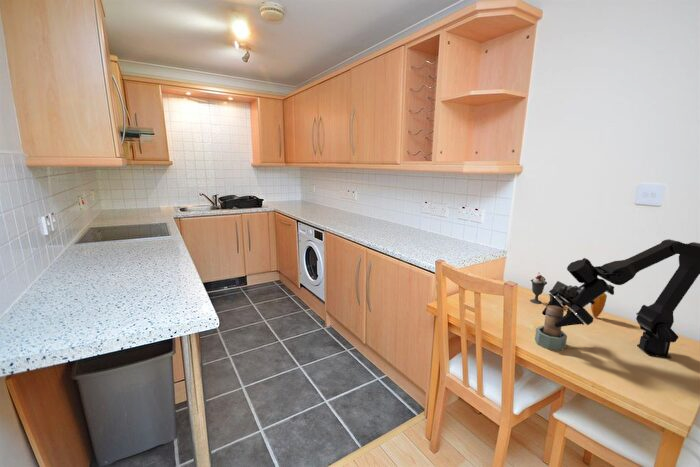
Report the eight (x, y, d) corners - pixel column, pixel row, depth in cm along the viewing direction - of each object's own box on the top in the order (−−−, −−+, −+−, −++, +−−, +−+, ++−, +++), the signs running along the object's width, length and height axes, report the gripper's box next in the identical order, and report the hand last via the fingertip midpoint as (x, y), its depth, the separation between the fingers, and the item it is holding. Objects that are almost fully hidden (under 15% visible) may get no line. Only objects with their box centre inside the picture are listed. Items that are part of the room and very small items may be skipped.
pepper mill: (549, 337, 115) (554, 304, 112) (562, 345, 110) (568, 310, 108) (538, 339, 114) (543, 306, 111) (550, 347, 109) (556, 312, 106)
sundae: (531, 304, 146) (535, 273, 143) (525, 298, 152) (529, 268, 149) (546, 305, 145) (551, 274, 142) (540, 299, 151) (544, 269, 148)
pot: (558, 339, 115) (560, 327, 114) (568, 352, 107) (570, 340, 106) (532, 336, 117) (533, 324, 116) (540, 348, 109) (542, 336, 108)
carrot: (602, 316, 134) (607, 283, 131) (603, 321, 129) (609, 286, 127) (587, 313, 136) (593, 281, 133) (588, 318, 132) (594, 284, 129)
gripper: (558, 267, 116) (522, 293, 119) (588, 284, 97) (545, 315, 101) (578, 288, 116) (542, 314, 120) (612, 310, 98) (568, 339, 102)
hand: (548, 319), depth 110 cm, fingers open, 9 cm apart
